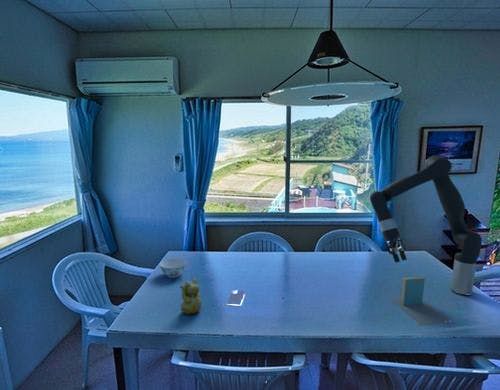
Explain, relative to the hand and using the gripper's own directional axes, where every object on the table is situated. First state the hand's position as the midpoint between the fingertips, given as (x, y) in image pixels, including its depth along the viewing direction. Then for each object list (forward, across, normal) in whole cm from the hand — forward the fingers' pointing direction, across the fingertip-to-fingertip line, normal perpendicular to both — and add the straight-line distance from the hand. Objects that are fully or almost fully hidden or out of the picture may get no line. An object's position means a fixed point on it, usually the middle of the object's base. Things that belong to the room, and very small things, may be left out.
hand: (401, 261), depth 151 cm
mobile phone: (-1, -56, +62) cm, 83 cm away
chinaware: (-22, -66, +101) cm, 123 cm away
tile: (+20, +2, +3) cm, 20 cm away
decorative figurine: (-1, -79, +66) cm, 103 cm away
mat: (+24, -2, -1) cm, 24 cm away
